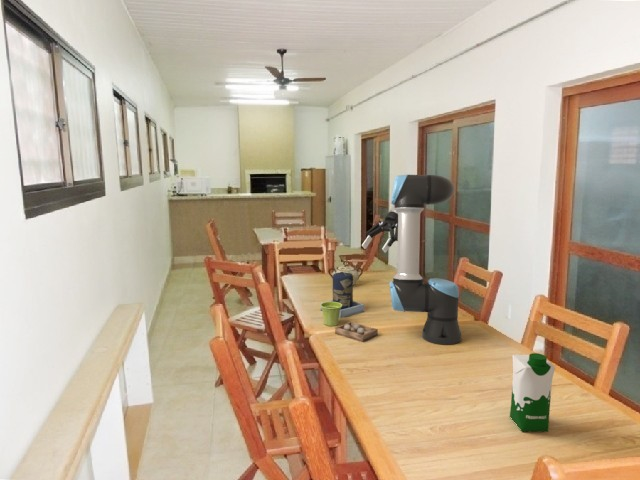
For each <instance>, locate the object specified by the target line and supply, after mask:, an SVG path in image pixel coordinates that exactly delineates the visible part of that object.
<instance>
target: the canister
mask: <svg viewBox="0 0 640 480" xmlns="http://www.w3.org/2000/svg"><path fill="white" fill-rule="evenodd" d="M332 275H333V274H332ZM353 293H354V285H353V275H352V274H351V273H345V272H340V273H335V274H334V275H333V279H332V300H333V302H338V303H341V304H342V307H341V310H342V309H346V308H350V307H353V301H354V298H353V297H354V294H353Z"/></svg>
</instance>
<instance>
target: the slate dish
mask: <svg viewBox="0 0 640 480" xmlns="http://www.w3.org/2000/svg"><path fill="white" fill-rule="evenodd" d="M324 302H325V301H323V302H320V311H321V312H323V311H322V307H321V304H322V303H324ZM326 302H333V299H332V300H328V301H326ZM364 312H365V304H364V303H361V302H358V301H355V300H353V307H350V308H346V309H342V310H340V314H339V319H343V318H346V317H350V316H353V315H357V314H361V313H364ZM342 317H343V318H342Z"/></svg>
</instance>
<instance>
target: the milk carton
mask: <svg viewBox="0 0 640 480" xmlns="http://www.w3.org/2000/svg"><path fill="white" fill-rule="evenodd" d="M555 370H556V366H555V365H554V364H553V363H552V362H550V361H549V360H548V358H547V356H546V355H544V354H542V353H536V352H533V353H530V354H512V384H511V385H512V386H511V400H510V409H509V410H510V411H509V418H510V417H511V418H512V419H511V418H510V419H511V420H513V421H514V422H515V423H516V424H517V426H518V427H519V428H520V429H521V430H520V429H519V428H518V427H517V426H516V427H517V428H518V429H519V430H520V432H521V431H546V432H549V423H550V409H551V397H552V384H553V377H554V373H555ZM513 421H512V422H513ZM514 422H513V423H514ZM515 423H514V424H515ZM516 424H515V425H516Z"/></svg>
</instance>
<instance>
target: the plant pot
mask: <svg viewBox="0 0 640 480" xmlns="http://www.w3.org/2000/svg"><path fill="white" fill-rule="evenodd" d="M323 302H324V303H323ZM323 302H321V303H322V304H321V307H322V311H321V312H322V317H323V318H322V319H323V324H324V325H325V326H327V327H334V326H337V325H338V326H339V320H340V318H339V314H340V310H341V307H342V304H341V303H338V302H327V301H323Z"/></svg>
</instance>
